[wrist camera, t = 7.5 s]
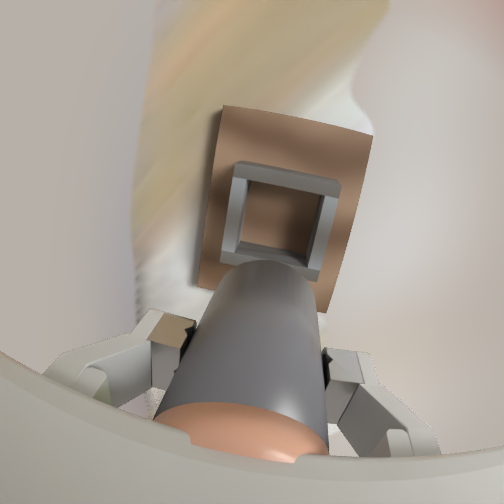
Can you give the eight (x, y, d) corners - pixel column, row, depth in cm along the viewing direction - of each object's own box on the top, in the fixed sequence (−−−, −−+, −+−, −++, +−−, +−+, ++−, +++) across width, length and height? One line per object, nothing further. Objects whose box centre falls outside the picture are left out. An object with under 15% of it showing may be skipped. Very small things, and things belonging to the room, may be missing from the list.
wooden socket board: (227, 106, 24) (214, 100, 20) (368, 135, 24) (383, 135, 20) (201, 279, 30) (187, 302, 26) (324, 305, 30) (329, 331, 25)
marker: (221, 249, 12) (121, 415, 4) (327, 271, 12) (365, 463, 4) (208, 337, 13) (141, 502, 6) (301, 355, 13) (297, 533, 5)
